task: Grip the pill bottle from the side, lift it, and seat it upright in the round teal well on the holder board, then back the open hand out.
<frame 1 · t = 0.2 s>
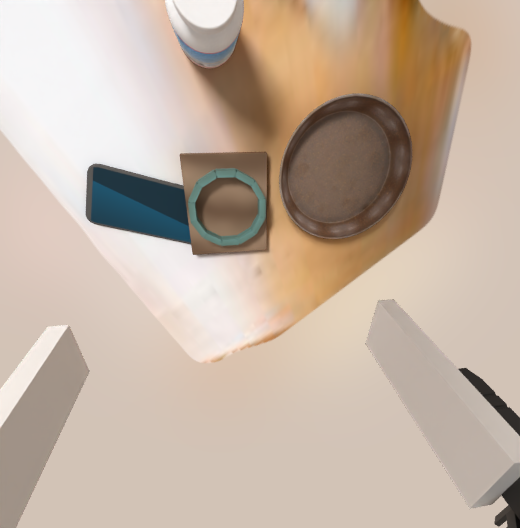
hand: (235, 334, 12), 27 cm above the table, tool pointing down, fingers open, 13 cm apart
holder board: (227, 204, 37), on the table
smartphone: (153, 206, 36), on the table
pill bottle: (206, 33, 28), on the table
plant saucer: (337, 171, 37), on the table
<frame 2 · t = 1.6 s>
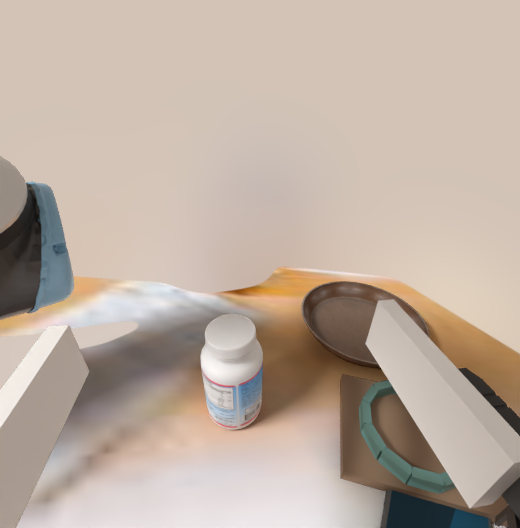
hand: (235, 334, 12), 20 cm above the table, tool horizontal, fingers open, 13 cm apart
holder board: (406, 438, 28), on the table
pill bottle: (234, 405, 30), on the table
plant saucer: (357, 330, 41), on the table
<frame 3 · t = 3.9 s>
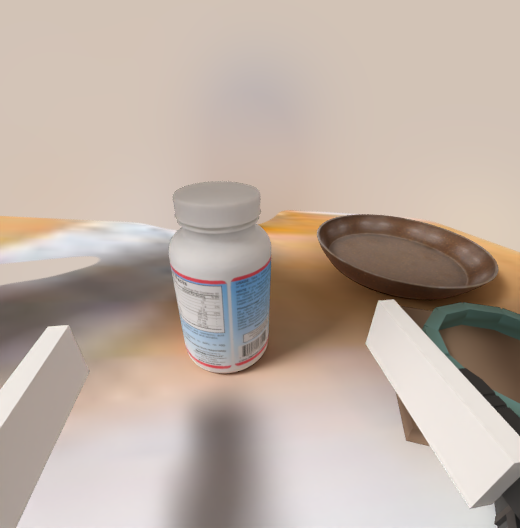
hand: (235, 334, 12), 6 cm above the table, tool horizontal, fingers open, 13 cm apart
holder board: (497, 383, 18), on the table
pill bottle: (227, 344, 20), on the table
plant saucer: (391, 265, 31), on the table
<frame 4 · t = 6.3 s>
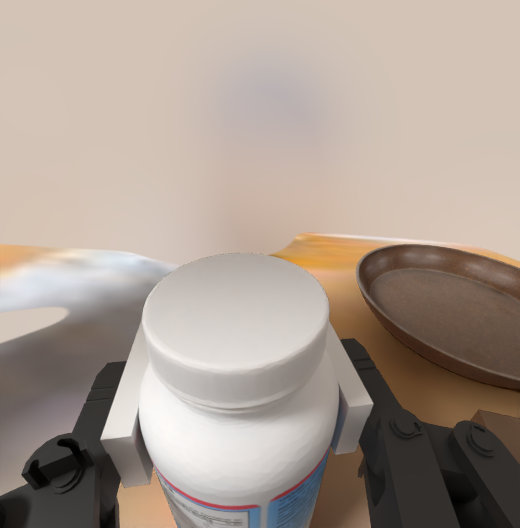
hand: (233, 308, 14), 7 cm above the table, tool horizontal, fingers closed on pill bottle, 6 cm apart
pill bottle: (244, 492, 13), on the table, touching gripper
plant saucer: (454, 320, 24), on the table
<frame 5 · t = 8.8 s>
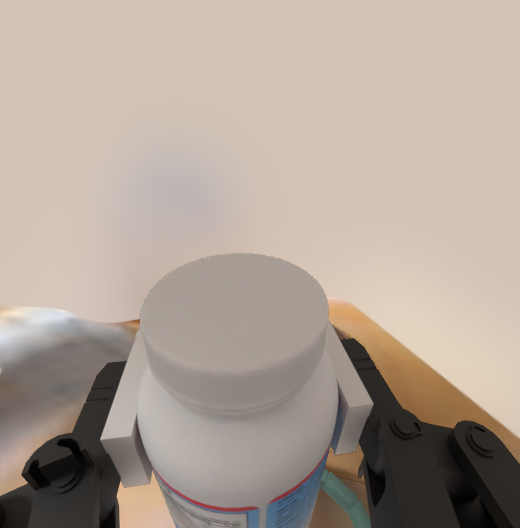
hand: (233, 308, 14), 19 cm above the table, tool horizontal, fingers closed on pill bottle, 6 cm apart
pill bottle: (243, 493, 13), point 12 cm above the table, touching gripper
when the fingers open (9 cm above the table, at t = 11.5 s): pill bottle drops 2 cm, resting on holder board.
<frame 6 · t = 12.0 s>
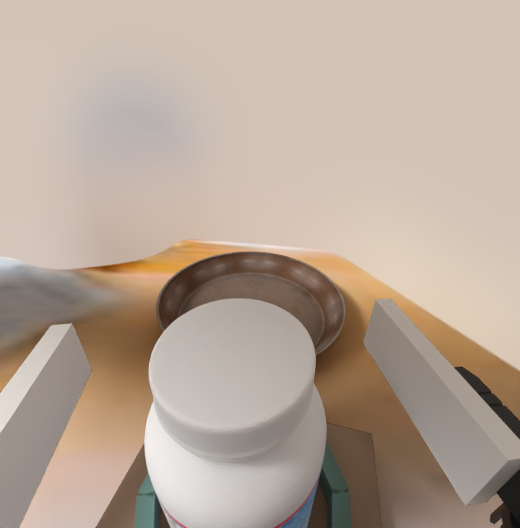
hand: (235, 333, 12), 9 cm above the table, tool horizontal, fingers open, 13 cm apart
holder board: (244, 515, 14), on the table
pill bottle: (241, 510, 13), point 1 cm above the table, touching holder board
plant saucer: (252, 317, 28), on the table
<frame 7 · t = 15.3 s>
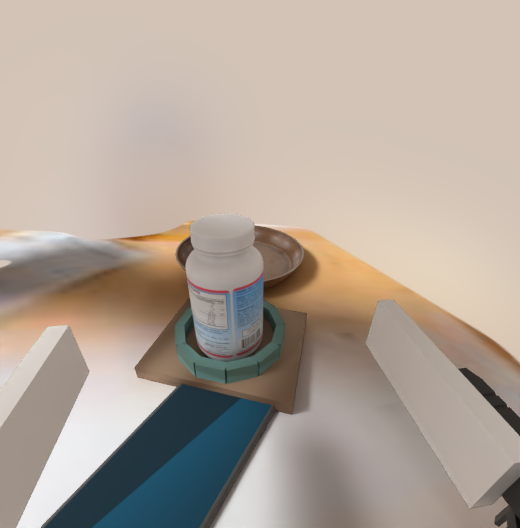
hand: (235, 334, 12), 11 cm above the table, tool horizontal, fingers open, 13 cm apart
holder board: (231, 346, 26), on the table
smartphone: (184, 458, 18), on the table
pill bottle: (229, 339, 25), point 1 cm above the table, touching holder board
plant saucer: (241, 266, 40), on the table
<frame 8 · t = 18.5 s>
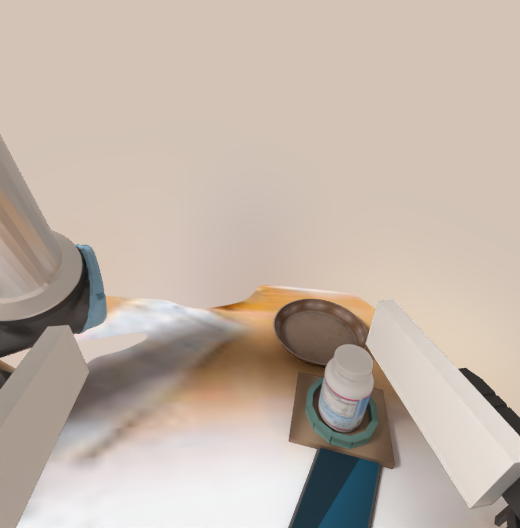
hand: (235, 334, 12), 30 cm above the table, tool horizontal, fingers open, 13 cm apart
holder board: (338, 416, 40), on the table
smartphone: (337, 497, 32), on the table
pill bottle: (338, 413, 39), point 1 cm above the table, touching holder board
plant saucer: (317, 338, 54), on the table
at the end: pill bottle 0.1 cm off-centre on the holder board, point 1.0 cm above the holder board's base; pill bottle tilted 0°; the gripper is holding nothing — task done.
